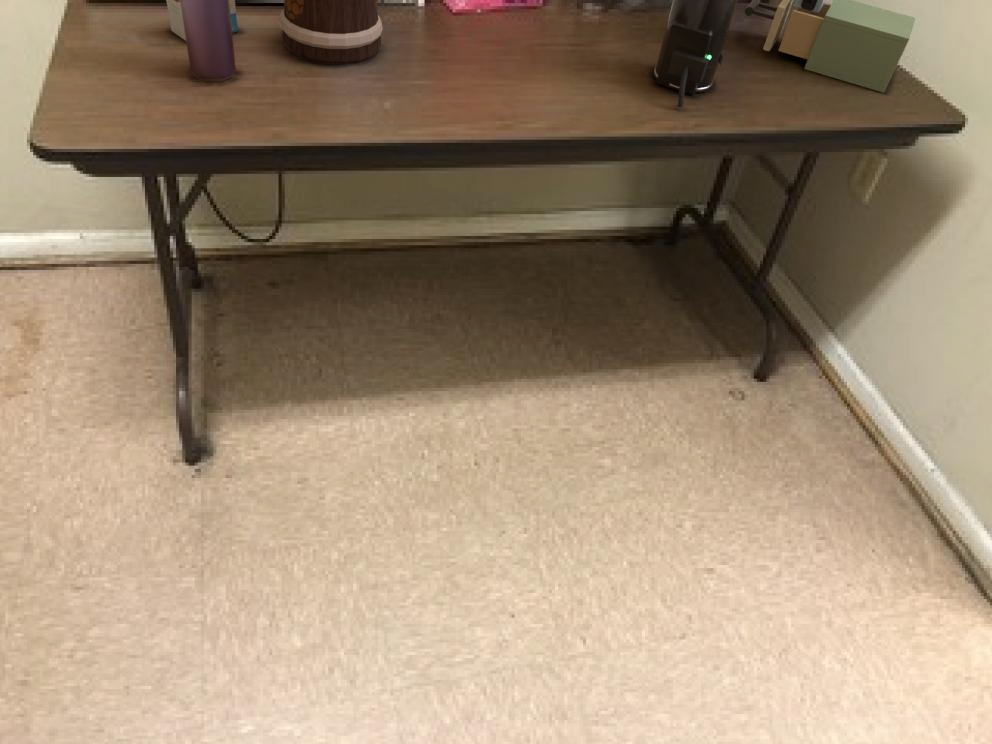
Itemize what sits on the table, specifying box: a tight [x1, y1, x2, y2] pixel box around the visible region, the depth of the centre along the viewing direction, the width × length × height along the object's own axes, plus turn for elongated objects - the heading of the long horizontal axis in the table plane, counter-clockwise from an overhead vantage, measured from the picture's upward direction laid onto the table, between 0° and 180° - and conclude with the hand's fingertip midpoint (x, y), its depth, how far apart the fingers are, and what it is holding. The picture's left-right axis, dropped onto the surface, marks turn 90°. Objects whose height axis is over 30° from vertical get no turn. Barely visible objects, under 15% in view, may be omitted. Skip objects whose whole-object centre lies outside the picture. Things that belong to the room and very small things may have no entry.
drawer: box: [744, 0, 832, 60], centre depth 142 cm, size 18×10×7 cm, turn 64°
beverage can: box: [180, 0, 237, 83], centre depth 107 cm, size 6×6×15 cm
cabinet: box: [804, 0, 916, 94], centre depth 139 cm, size 14×12×9 cm
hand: (809, 4), depth 139 cm, fingers closed on block, 4 cm apart
